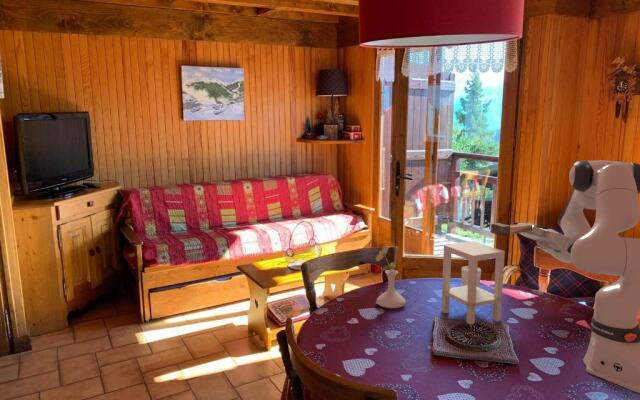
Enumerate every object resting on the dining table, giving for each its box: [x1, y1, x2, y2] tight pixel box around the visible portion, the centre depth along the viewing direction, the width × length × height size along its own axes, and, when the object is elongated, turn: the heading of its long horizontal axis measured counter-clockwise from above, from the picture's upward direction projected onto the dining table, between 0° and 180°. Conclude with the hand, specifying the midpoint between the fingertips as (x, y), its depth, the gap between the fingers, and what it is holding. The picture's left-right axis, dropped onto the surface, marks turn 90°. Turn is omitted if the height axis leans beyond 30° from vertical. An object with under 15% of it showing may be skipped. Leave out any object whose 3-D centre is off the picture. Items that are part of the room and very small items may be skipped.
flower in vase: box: [375, 244, 407, 309], centre depth 192 cm, size 13×11×25 cm
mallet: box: [490, 222, 538, 237], centre depth 187 cm, size 6×18×4 cm, turn 114°
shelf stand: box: [441, 240, 506, 324], centre depth 182 cm, size 16×14×26 cm
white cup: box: [461, 265, 482, 288], centre depth 209 cm, size 8×8×10 cm
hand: (527, 226), depth 189 cm, fingers closed on mallet, 3 cm apart
